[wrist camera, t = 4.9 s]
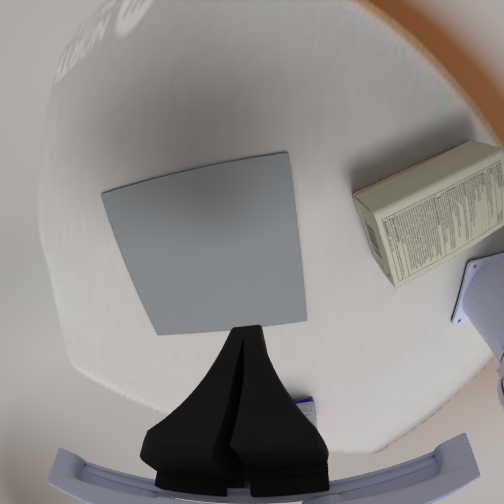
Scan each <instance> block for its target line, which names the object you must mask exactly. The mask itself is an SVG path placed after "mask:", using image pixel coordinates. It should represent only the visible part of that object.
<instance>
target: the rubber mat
mask: <svg viewBox="0 0 504 504" xmlns="http://www.w3.org/2000/svg"><path fill="white" fill-rule="evenodd" d="M101 196H102V200H103V203H104V206H105V209H106V212H107V215H108V218H109V221H110V224H111V227H112V230H113V233H114V236H115V238H116V241H117V244H118V246H119V249H120V252H121V254H122V257H123V259H124V262H125V264H126V267H127V269H128V272H129V274H130V277H131V279H132V281H133V284H134V286H135V288H136V291H137V293H138V295H139V297H140V300H141V302H142V304H143V306H144V308H145V310H146V313H147V315H148V317H149V319H150V321H151V323H152V325H153V327H154V329H155V331H156V333H157V335H174V334H190V333H204V332H217V331H228V330H231V329H232V328H233V327H240V326H250V325H261V326H262V327H265V326H273V325H281V324H288V323H295V322H302V321H307V313H306V301H305V289H304V278H303V268H302V258H301V248H300V239H299V231H298V222H297V214H296V206H295V198H294V191H293V184H292V177H291V170H290V163H289V156H288V153H281V154H274V155H267V156H261V157H255V158H249V159H243V160H237V161H232V162H227V163H221V164H216V165H211V166H207V167H202V168H197V169H193V170H188V171H184V172H180V173H175V174H171V175H167V176H163V177H159V178H155V179H151V180H148V181H144V182H140V183H137V184H133V185H130V186H126V187H123V188H119V189H116V190H113V191H109V192H106V193H103V194H101Z"/></svg>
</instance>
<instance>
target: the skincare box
mask: <svg viewBox="0 0 504 504" xmlns="http://www.w3.org/2000/svg"><path fill="white" fill-rule="evenodd" d="M353 199H354V202H355V205H356V207H357V210H358V213H359V215H360V218H361V220H362V223H363V226H364V229H365V231H366V234H367V237H368V240H369V243H370V246H371V249H372V252H373V255H374V258H375V260H376V262H377V264H378V265H379V267H380V268H381V270H382V271H383V273H384V274H385V276H386V277H387V278H388V280H389V281H390V282H391V283H392V284H393V286H394V288H398V287H400V286H402V285H404V284H406V283H408V282H410V281H411V280H413V279H415V278H417V277H419V276H421V275H423V274H425V273H426V272H428V271H430V270H432V269H434V268H435V267H437V266H439V265H441V264H443V263H444V262H446V261H448V260H450V259H451V258H453V257H455V256H456V255H458V254H460V253H461V252H463V251H465V250H466V249H468V248H470V247H471V246H473V245H475V244H476V243H478V242H479V241H481V240H483V239H484V238H485V237H487V236H489V235H490V234H492V233H493V232H495V231H496V230H498V229H499V228H501V227H502V226H504V151H503V150H502V149H501V148H499V147H495V146H492V145H488V144H484V143H480V142H475V141H468V142H465V143H463V144H461V145H459V146H457V147H454V148H452V149H450V150H448V151H445V152H443V153H441V154H439V155H436V156H434V157H432V158H430V159H427V160H425V161H423V162H421V163H419V164H416V165H414V166H412V167H410V168H408V169H406V170H403V171H401V172H399V173H397V174H394V175H392V176H390V177H388V178H386V179H383V180H381V181H379V182H377V183H375V184H373V185H370V186H368V187H366V188H364V189H361V190H359V191H357V192H355V193H353Z"/></svg>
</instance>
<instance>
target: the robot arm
mask: <svg viewBox="0 0 504 504" xmlns="http://www.w3.org/2000/svg"><path fill="white" fill-rule="evenodd" d="M468 320H470V321H471V322H472V324H473V325H474V326H475V328H476V329H477V331H478V332H479V333H480V335H481V336H482V337H483V339H484V340H485V342H486V343H487V345H488V346H489V348H490V349H491V351H492V352H493V354H494V355H495V357H496V358H497V360H498V361H499V363H500V366H499V368H498V369H497V372H498V373H499V375H500V379H499V381H498V388H497V389H498V397H499V401H500V404H501V406H502V408H503V410H504V253H500V254H496V255H493V256H489V257H485V258H481V259H477V260H473V261H470V262H469V263H468V264H467V267H466V271H465V275H464V280H463V284H462V288H461V291H460V295H459V299H458V302H457V305H456V309H455V312H454V315H453V318H452V324H453V325H457V324H459V323H462V322H465V321H468ZM328 455H329V453H328V449H327V446H326V444H325V442H324V440H323V439H322V437H321V435H320V434H319V432H318V430H317V428H316V427H315V426H314V425H313V424H312V423H311V422H310V420H309V419H308V418H307V417H306V416H305V415H304V414H303V412H302V411H301V410H300V409H299V408H298V406H297V405H296V403H295V402H294V401H293V399H292V398H291V397H290V395H289V394H288V392H287V391H286V389H285V388H284V386H283V384H282V383H281V381H280V379H279V377H278V376H277V374H276V372H275V370H274V368H273V366H272V363H271V361H270V359H269V356H268V354H267V349H266V344H265V339H264V335H263V330H262V326H261V325H250V326H240V327H233V328H232V329H231V331H230V334H229V336H228V338H227V340H226V342H225V344H224V346H223V348H222V350H221V351H220V353H219V355H218V357H217V358H216V360H215V362H214V363H213V365H212V367H211V368H210V370H209V371H208V373H207V374H206V376H205V377H204V378H203V380H202V381H201V382H200V384H199V385H198V386H197V387H196V389H195V390H194V391H193V392H192V393H191V394H190V395H189V396H188V398H187V399H186V400H185V401H184V402H183V403H182V404H181V405H180V406H179V407H177V408H176V409H175V410H174V411H173V412H172V413H171V414H170V415H168V416H167V417H166V418H165V419H163V420H162V421H161V422H159V423H158V424H156V425H155V426H154V427H153V428H151V429H149V430H148V431H147V434H146V436H145V438H144V441H143V445H142V449H141V453H140V458H141V459H142V460H143V461H144V462H145V463H146V464H148V465H149V466H150V467H152V468H153V469H155V470H156V471H157V475H156V479H155V480H153V479H148V478H143V477H139V476H135V475H130V474H126V473H123V472H119V471H115V470H112V469H108V468H104V467H101V466H98V465H95V464H92V463H89V462H86V461H84V459H82V458H81V457H79V456H78V455H76V454H74V453H72V452H69V451H67V450H64V449H62V448H59V451H58V453H57V455H56V458H55V461H54V463H53V466H52V469H51V471H50V475H49V477H48V480H47V483H48V484H50V485H52V486H54V487H55V488H57V489H59V490H61V491H62V492H64V493H66V494H68V495H71V496H72V497H74V498H76V499H78V500H80V501H83V502H85V503H87V504H211V503H201V502H192V501H184V500H177V499H175V498H180V499H187V500H194V501H204V502H215V503H232V504H269V503H285V502H286V503H287V502H298V501H303V502H302V504H431V503H433V502H435V501H438V500H440V499H442V498H444V497H446V496H448V495H450V494H452V493H454V492H456V491H458V490H459V489H461V488H463V487H465V486H466V485H468V484H470V483H471V482H473V481H474V480H476V479H478V478H479V477H480V472H479V469H478V466H477V463H476V460H475V457H474V454H473V452H472V449H471V446H470V444H469V441H468V438H467V436H466V433H462V434H460V435H458V436H456V437H454V438H452V439H450V440H447V441H445V442H443V443H442V444H440V445H438V446H437V447H436V448H435V450H434V451H433V452H430V453H428V454H425V455H423V456H421V457H418V458H415V459H412V460H409V461H407V462H404V463H401V464H398V465H395V466H392V467H389V468H385V469H381V470H378V471H374V472H370V473H366V474H363V475H358V476H354V477H349V478H345V479H340V480H334V481H329V477H328V464H327V461H328ZM167 496H168V497H167ZM171 497H173V498H171Z"/></svg>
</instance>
